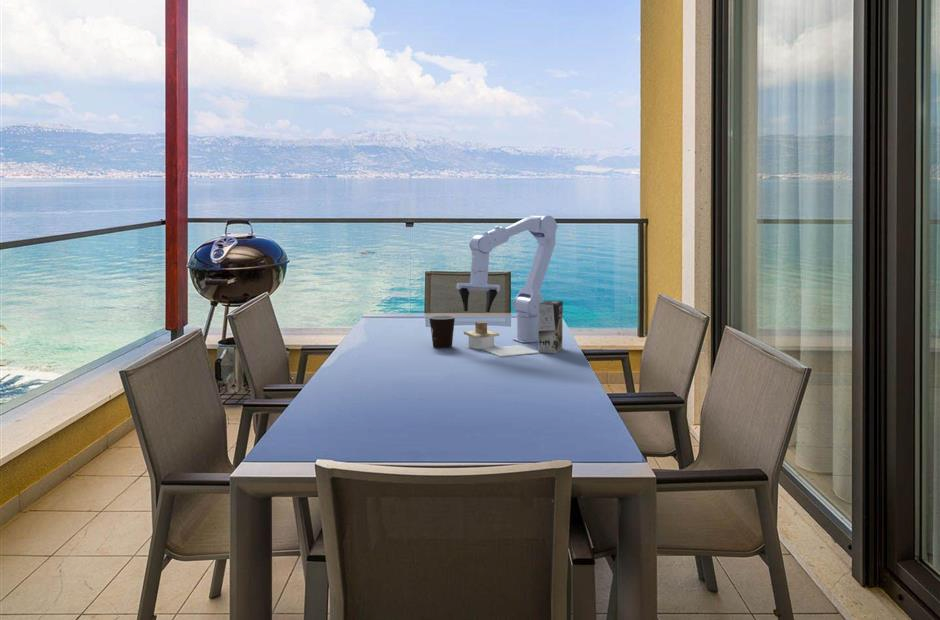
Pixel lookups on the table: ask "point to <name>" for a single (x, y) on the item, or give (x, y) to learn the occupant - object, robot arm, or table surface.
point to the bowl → (481, 342)
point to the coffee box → (550, 326)
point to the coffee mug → (442, 331)
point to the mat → (510, 351)
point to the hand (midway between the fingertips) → (476, 311)
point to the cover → (481, 331)
